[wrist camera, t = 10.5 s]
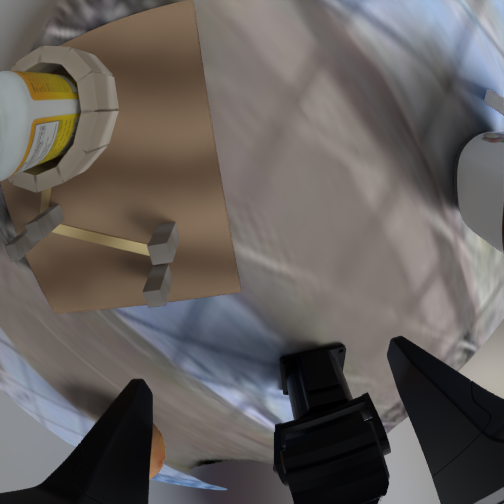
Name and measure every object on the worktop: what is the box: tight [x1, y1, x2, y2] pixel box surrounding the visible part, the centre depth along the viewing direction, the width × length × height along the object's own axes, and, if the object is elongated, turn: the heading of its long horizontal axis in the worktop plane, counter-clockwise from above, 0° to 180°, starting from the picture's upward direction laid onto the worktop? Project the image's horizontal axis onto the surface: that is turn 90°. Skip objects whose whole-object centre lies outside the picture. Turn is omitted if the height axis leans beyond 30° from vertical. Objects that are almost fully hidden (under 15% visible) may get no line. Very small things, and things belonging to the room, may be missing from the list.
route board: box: [0, 0, 241, 314], centre depth 15 cm, size 20×17×4 cm
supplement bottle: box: [0, 71, 81, 181], centre depth 9 cm, size 5×5×10 cm
